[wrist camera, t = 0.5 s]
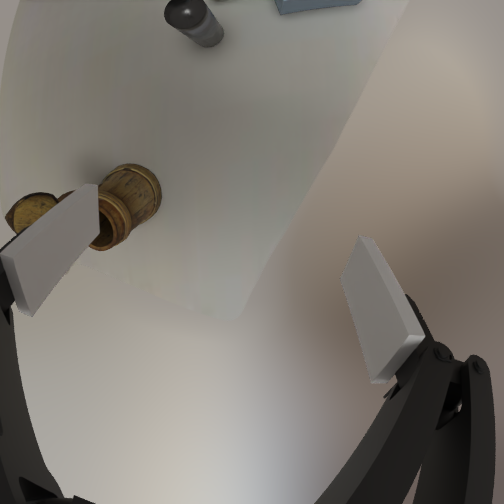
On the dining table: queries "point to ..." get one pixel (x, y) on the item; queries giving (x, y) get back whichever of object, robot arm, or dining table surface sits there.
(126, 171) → the wooden mug
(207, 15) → the bottle
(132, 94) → the dining table surface
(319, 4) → the block
